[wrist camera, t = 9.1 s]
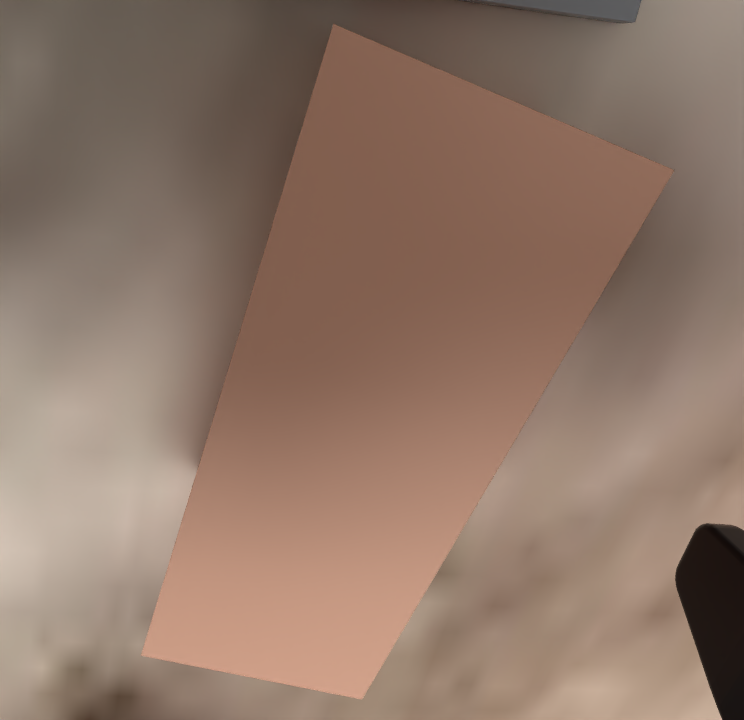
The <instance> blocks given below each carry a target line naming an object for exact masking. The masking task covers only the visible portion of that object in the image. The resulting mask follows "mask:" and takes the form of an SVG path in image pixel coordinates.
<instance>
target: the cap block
mask: <svg viewBox="0 0 744 720" xmlns="http://www.w3.org/2000/svg"><path fill="white" fill-rule="evenodd" d="M673 172H674V170H673V169H671V168H668V167H666V166H664V165H661V164H659V163H657V162H654V161H652V160H650V159H647V158H645V157H643V156H640V155H638V154H636V153H633V152H631V151H629V150H626V149H624V148H622V147H619V146H617V145H615V144H612V143H610V142H608V141H605V140H603V139H601V138H598V137H596V136H594V135H591V134H589V133H587V132H584V131H582V130H580V129H577V128H575V127H573V126H570V125H568V124H566V123H563V122H561V121H559V120H556V119H554V118H552V117H549V116H547V115H545V114H542V113H540V112H538V111H535V110H533V109H531V108H528V107H526V106H524V105H522V104H519V103H517V102H515V101H512V100H510V99H508V98H505V97H503V96H501V95H498V94H496V93H494V92H491V91H489V90H487V89H484V88H482V87H480V86H477V85H475V84H473V83H470V82H468V81H466V80H463V79H461V78H459V77H456V76H454V75H452V74H449V73H447V72H445V71H442V70H440V69H438V68H435V67H433V66H431V65H428V64H426V63H424V62H421V61H419V60H417V59H414V58H412V57H410V56H407V55H405V54H403V53H400V52H398V51H396V50H393V49H391V48H389V47H386V46H384V45H382V44H379V43H377V42H375V41H372V40H370V39H368V38H365V37H363V36H361V35H359V34H356V33H354V32H352V31H349V30H347V29H345V28H342V27H340V26H338V25H335V24H333V27H332V30H331V33H330V37H329V40H328V43H327V46H326V50H325V53H324V56H323V59H322V63H321V66H320V69H319V73H318V76H317V79H316V82H315V86H314V89H313V92H312V96H311V99H310V102H309V105H308V109H307V112H306V115H305V119H304V122H303V125H302V128H301V132H300V135H299V138H298V142H297V145H296V148H295V151H294V155H293V158H292V161H291V165H290V168H289V171H288V174H287V178H286V181H285V184H284V188H283V191H282V194H281V197H280V201H279V204H278V207H277V210H276V214H275V217H274V220H273V224H272V227H271V230H270V233H269V237H268V240H267V243H266V247H265V250H264V253H263V256H262V260H261V263H260V266H259V270H258V273H257V276H256V279H255V283H254V286H253V289H252V293H251V296H250V299H249V302H248V306H247V309H246V312H245V316H244V319H243V322H242V325H241V329H240V332H239V335H238V338H237V342H236V345H235V348H234V352H233V355H232V358H231V361H230V365H229V368H228V371H227V375H226V378H225V381H224V384H223V388H222V391H221V394H220V398H219V401H218V404H217V407H216V411H215V414H214V417H213V421H212V424H211V427H210V430H209V434H208V437H207V440H206V444H205V447H204V450H203V453H202V457H201V460H200V463H199V466H198V470H197V473H196V476H195V480H194V483H193V486H192V489H191V493H190V496H189V499H188V503H187V506H186V509H185V512H184V516H183V519H182V522H181V526H180V529H179V532H178V535H177V539H176V542H175V545H174V549H173V552H172V555H171V558H170V562H169V565H168V568H167V572H166V575H165V578H164V581H163V585H162V588H161V591H160V594H159V598H158V601H157V604H156V608H155V611H154V614H153V617H152V621H151V624H150V627H149V631H148V634H147V637H146V640H145V644H144V647H143V650H142V654H141V656H146V657H151V658H156V659H161V660H166V661H171V662H176V663H181V664H186V665H191V666H196V667H201V668H207V669H212V670H217V671H222V672H227V673H232V674H237V675H242V676H247V677H252V678H257V679H262V680H267V681H272V682H277V683H282V684H287V685H292V686H297V687H302V688H307V689H312V690H317V691H322V692H327V693H333V694H338V695H343V696H348V697H353V698H358V699H363V697H364V695H365V694H366V692H367V690H368V689H369V687H370V685H371V683H372V682H373V680H374V678H375V677H376V675H377V673H378V672H379V670H380V668H381V667H382V665H383V663H384V661H385V660H386V658H387V656H388V655H389V653H390V651H391V650H392V648H393V646H394V645H395V643H396V641H397V639H398V638H399V636H400V634H401V633H402V631H403V629H404V628H405V626H406V624H407V622H408V621H409V619H410V617H411V616H412V614H413V612H414V611H415V609H416V607H417V606H418V604H419V602H420V600H421V599H422V597H423V595H424V594H425V592H426V590H427V589H428V587H429V585H430V584H431V582H432V580H433V578H434V577H435V575H436V573H437V572H438V570H439V568H440V567H441V565H442V563H443V562H444V560H445V558H446V556H447V555H448V553H449V551H450V550H451V548H452V546H453V545H454V543H455V541H456V539H457V538H458V536H459V534H460V533H461V531H462V529H463V528H464V526H465V524H466V523H467V521H468V519H469V517H470V516H471V514H472V512H473V511H474V509H475V507H476V506H477V504H478V502H479V501H480V499H481V497H482V495H483V494H484V492H485V490H486V489H487V487H488V485H489V484H490V482H491V480H492V479H493V477H494V475H495V473H496V472H497V470H498V468H499V467H500V465H501V463H502V462H503V460H504V458H505V456H506V455H507V453H508V451H509V450H510V448H511V446H512V445H513V443H514V441H515V440H516V438H517V436H518V434H519V433H520V431H521V429H522V428H523V426H524V424H525V423H526V421H527V419H528V418H529V416H530V414H531V412H532V411H533V409H534V407H535V406H536V404H537V402H538V401H539V399H540V397H541V396H542V394H543V392H544V390H545V389H546V387H547V385H548V384H549V382H550V380H551V379H552V377H553V375H554V373H555V372H556V370H557V368H558V367H559V365H560V363H561V362H562V360H563V358H564V357H565V355H566V353H567V351H568V350H569V348H570V346H571V345H572V343H573V341H574V340H575V338H576V336H577V335H578V333H579V331H580V329H581V328H582V326H583V324H584V323H585V321H586V319H587V318H588V316H589V314H590V313H591V311H592V309H593V307H594V306H595V304H596V302H597V301H598V299H599V297H600V296H601V294H602V292H603V290H604V289H605V287H606V285H607V284H608V282H609V280H610V279H611V277H612V275H613V274H614V272H615V270H616V268H617V267H618V265H619V263H620V262H621V260H622V258H623V257H624V255H625V253H626V252H627V250H628V248H629V246H630V245H631V243H632V241H633V240H634V238H635V236H636V235H637V233H638V231H639V230H640V228H641V226H642V224H643V223H644V221H645V219H646V218H647V216H648V214H649V213H650V211H651V209H652V207H653V206H654V204H655V202H656V201H657V199H658V197H659V196H660V194H661V192H662V191H663V189H664V187H665V185H666V184H667V182H668V180H669V179H670V177H671V175H672V174H673Z"/></svg>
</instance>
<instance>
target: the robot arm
mask: <svg viewBox="0 0 744 720" xmlns="http://www.w3.org/2000/svg"><path fill="white" fill-rule="evenodd" d="M675 581H676V587H677V591H678V594H679V597H680V600H681V603H682V606H683V609H684V612H685V615H686V618H687V621H688V624H689V627H690V630H691V633H692V635H693V638H694V641H695V644H696V647H697V650H698V653H699V656H700V659H701V662H702V665H703V668H704V671H705V674H706V677H707V680H708V683H709V686H710V689H711V691H712V694H713V697H714V700H715V702H716V705H717V708H718V710H719V713H720V715H721V717H722V720H744V530H742V529H740V528H738V527H736V526H733V525H725V524H709V523H707V524H702V525H701V526H699V527H698V528H697V529H696V530H695V532H694V534H693V536H692V538H691V540H690V542H689V544H688V546H687V548H686V550H685V552H684V554H683V556H682V558H681V560H680V562H679V564H678V566H677V569H676V575H675Z"/></svg>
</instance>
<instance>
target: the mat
mask: <svg viewBox="0 0 744 720" xmlns="http://www.w3.org/2000/svg"><path fill="white" fill-rule="evenodd" d="M460 1H467V2H474V3H481V4H488V5H495V6H502V7H509V8H516V9H523V10H530V11H538V12H545V13H552V14H559V15H566V16H573V17H580V18H587V19H594V20H601V21H609V22H616V23H631V22H635V21H636V17H637V14H638V10H639V7H640V3H641V0H460Z"/></svg>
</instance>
